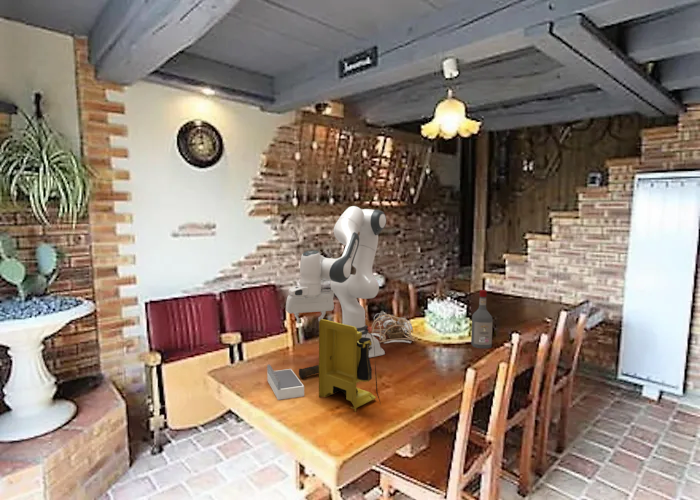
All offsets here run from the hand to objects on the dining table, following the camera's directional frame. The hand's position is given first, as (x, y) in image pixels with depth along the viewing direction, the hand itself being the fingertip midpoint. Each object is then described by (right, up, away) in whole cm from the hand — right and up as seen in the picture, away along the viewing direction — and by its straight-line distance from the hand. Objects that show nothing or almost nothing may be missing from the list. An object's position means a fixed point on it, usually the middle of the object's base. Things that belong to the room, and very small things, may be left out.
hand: (310, 322), depth 185 cm
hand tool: (-1, -26, +2) cm, 27 cm away
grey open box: (-9, -24, -11) cm, 28 cm away
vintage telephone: (+17, -26, -21) cm, 37 cm away
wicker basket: (+42, -20, +61) cm, 77 cm away
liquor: (+85, -21, +45) cm, 98 cm away
